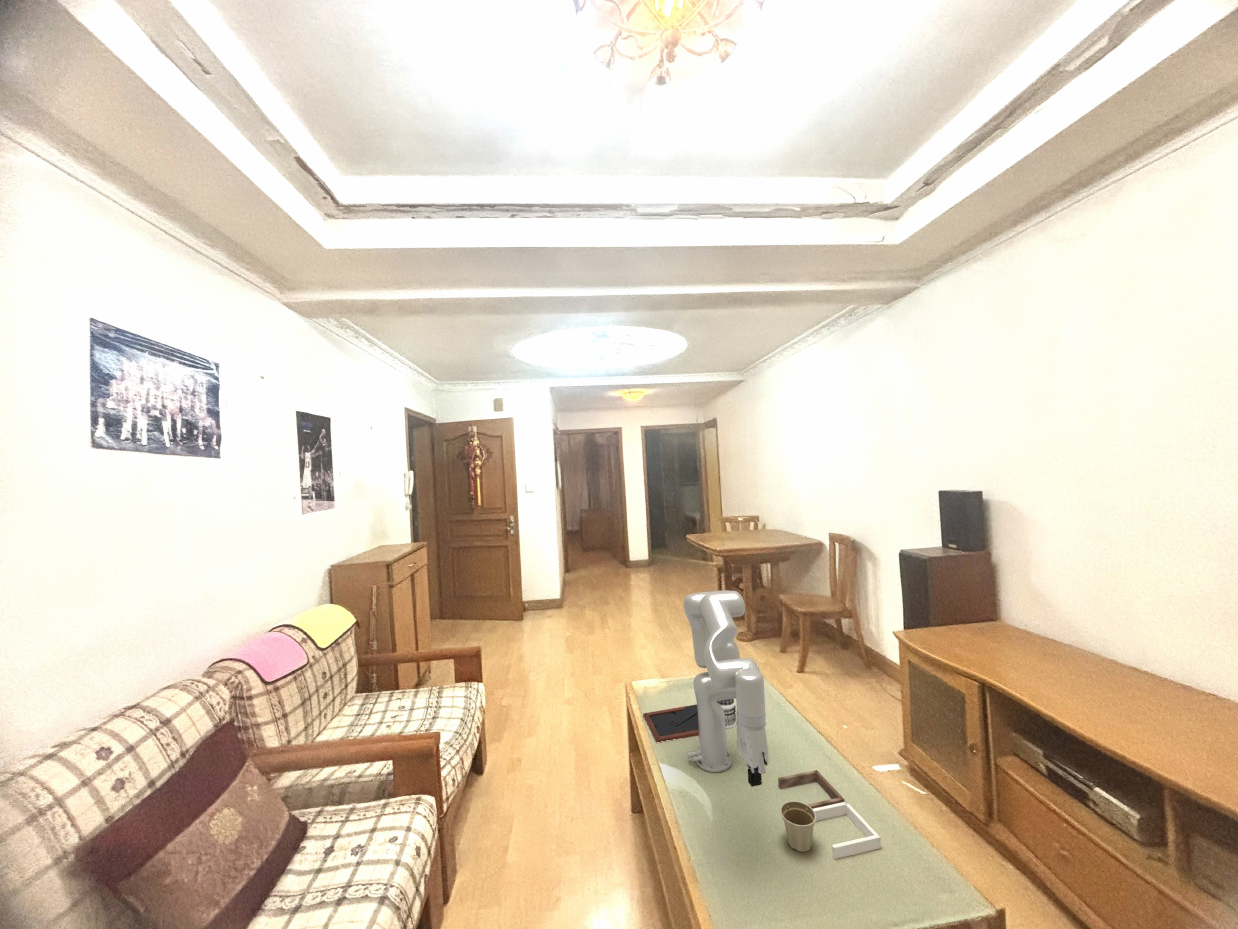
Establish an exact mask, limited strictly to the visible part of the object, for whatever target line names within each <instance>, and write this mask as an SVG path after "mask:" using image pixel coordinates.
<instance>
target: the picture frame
mask: <svg viewBox="0 0 1238 929" xmlns="http://www.w3.org/2000/svg"><path fill="white" fill-rule="evenodd" d="M642 715H643V718H645V719H644V720H646V721H645V722H647V723H646V725H647V724H648V725H647V726H649V727H648V729H649V728H650V729H649V731H650V730H651V731H650V732H652V733H651V735H652V734H653V735H652V737H653V736H654V737H653V739H654V738H655V739H654V741H655V740H656V741H655V742H660V743H662V742H661V741H665V742H667V741H666V740H671V741H674V740H673V739H676V740H680V739H679V738H682V739H687V738H691V737H696V736H698V737H699V726H698V711H697V703H696V704H691V705H684V706H680V707H672V708H668V709H663V710H662V709H661V710H654V711H649V712H645V713H643V714H642Z"/></svg>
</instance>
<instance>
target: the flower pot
mask: <svg viewBox="0 0 1238 929" xmlns="http://www.w3.org/2000/svg"><path fill="white" fill-rule="evenodd" d="M779 812H780V816H781V817H782V820H783V822H784V827H785V833H786V837H787V843H788V844H789V846H790V847H791V848H792V849H794V850H796V851H798V852H801V853H803V852H804V853H805V852H809V851H810V849H811V848H812V846H813V833H814V827H815V823H816V822H817V821H816V813H815V812H814V810H813V809H812V808H811V807H810V806H809V805H807V803H805V802H803V801H799V800H790V801H786V802H783V803H782V805H781V806H780V808H779Z"/></svg>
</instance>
